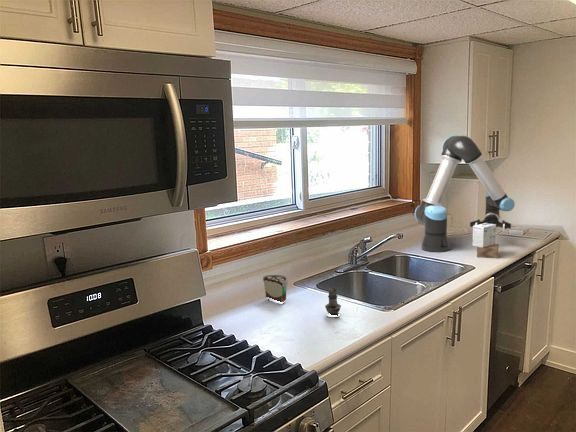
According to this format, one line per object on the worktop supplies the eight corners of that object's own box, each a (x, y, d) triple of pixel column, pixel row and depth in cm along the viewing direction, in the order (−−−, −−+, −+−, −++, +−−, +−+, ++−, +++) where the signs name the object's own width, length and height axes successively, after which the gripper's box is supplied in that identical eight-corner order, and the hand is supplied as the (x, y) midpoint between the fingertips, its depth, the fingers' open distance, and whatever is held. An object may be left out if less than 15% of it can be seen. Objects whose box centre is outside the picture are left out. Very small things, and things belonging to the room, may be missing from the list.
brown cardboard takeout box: (476, 257, 241) (477, 247, 240) (477, 252, 250) (478, 242, 249) (498, 258, 237) (498, 248, 236) (498, 253, 246) (498, 243, 245)
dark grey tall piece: (335, 311, 178) (334, 280, 176) (344, 316, 173) (343, 284, 170) (322, 314, 175) (321, 283, 173) (331, 319, 170) (330, 288, 168)
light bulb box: (484, 242, 249) (485, 222, 247) (496, 244, 244) (496, 224, 242) (471, 245, 244) (472, 225, 242) (483, 247, 238) (483, 227, 236)
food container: (295, 301, 189) (294, 278, 188) (284, 306, 185) (283, 281, 183) (274, 295, 198) (273, 272, 196) (263, 299, 194) (262, 276, 192)
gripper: (515, 228, 260) (515, 236, 241) (467, 226, 271) (464, 233, 252) (516, 214, 259) (516, 222, 240) (468, 213, 270) (464, 220, 251)
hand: (489, 228), depth 246 cm, fingers open, 13 cm apart
